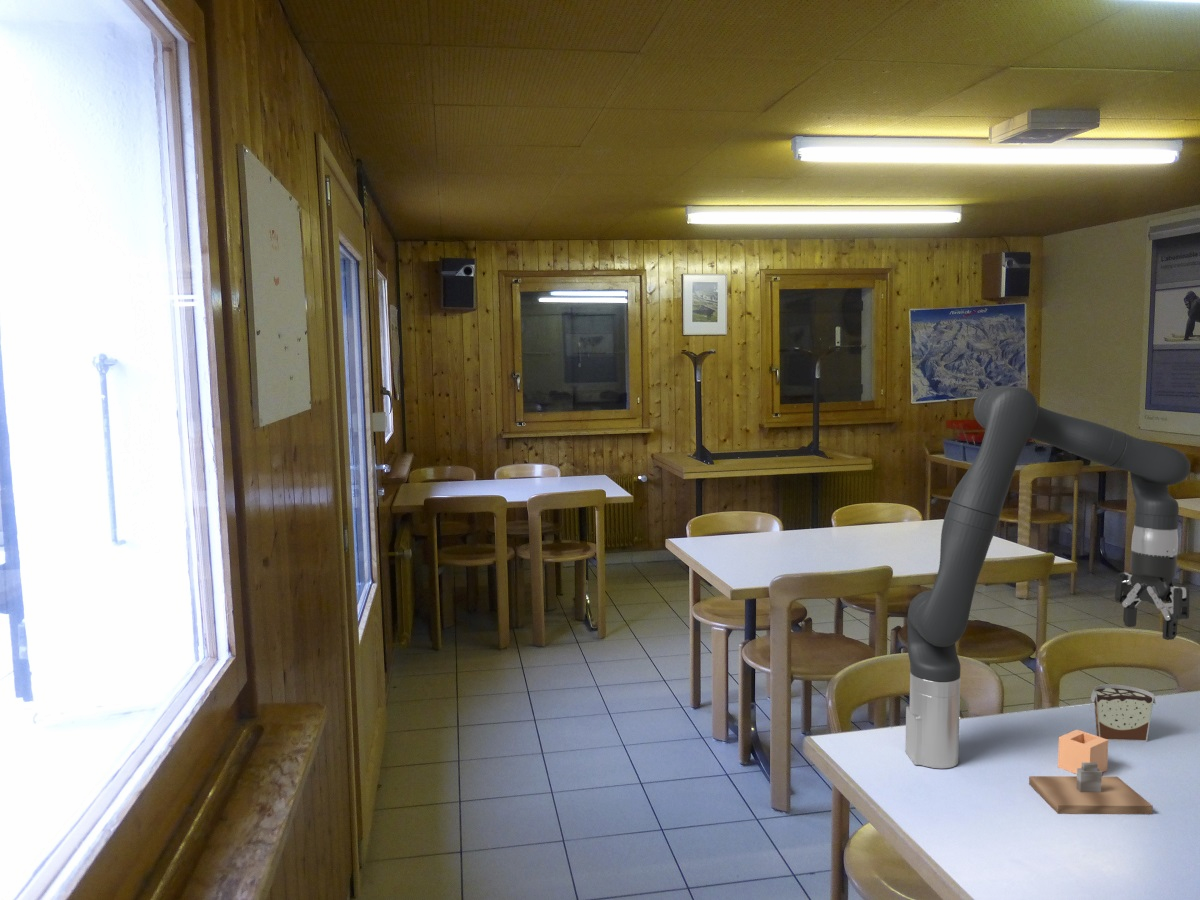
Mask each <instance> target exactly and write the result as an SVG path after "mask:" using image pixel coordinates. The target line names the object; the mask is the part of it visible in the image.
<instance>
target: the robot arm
mask: <svg viewBox="0 0 1200 900" xmlns="http://www.w3.org/2000/svg"><path fill="white" fill-rule="evenodd" d="M972 409H973V410H972V412H973V416H974V418H975V419H974V420H976V422H977V423H978V424H979V425H980V426H981V427H982V428H983V429H984V435H983V438H982V441H981V444H980V447H979V450H978V453H977V455H976V457H975V458H974V461H973V462H972V464H971V465H970V467H969V468H968V469H967V471H966V472H965V474H964V475H963V476H962V478H961V480H959V482H958V484H957V485H956V487H955V488H954V491H953V492H952V495H951V498H950V500H949V502H948V506H947V509H946V513H945V515H944V518H943V522H942V527H941V533H940V534H941V536H940V548H939V549H940V550H939V551H940V555H939V557H940V558H939V567H938V570H937V575H936V577H935V578H936V579H935V581H934V583H933V586H932V589H931V590H930V589H929V590H924V591H921V592H920V593H918V594H917V595H915V596H914V597H913V598H912V600H911V601H910V603H909V606H908V611H907V622H906V623H907V627H906V628H907V653H908V654H907V656H908V659H909V667H910V669H909V671H910V672H909V674H910V675H909V677H910V678H909V706H908V705H907V706H906V707H905V708H906V709H905V747H904V748H905V754H906V755H907V756H908V757H909V759H910V760H911V762H912V763H913V764H914V765H915V766H924V767H927V768H932V769H950V768H954V767H956V766H957V765H958V763H959V755H960V751H959V746H960V744H959V743H960V712H961V711H960V707H961V699H960V698H961V662H960V659H959V657H958V656H959V655H958V652H957V647H956V643H957V642H958V641H959V640H961V638H962V637H963V635H964V633H965V631H966V629H967V626H968V622H969V617H970V612H971V609H972V602H973V599H974V594H975V590H976V586H977V582H978V580H979V576H980V574H981V571H982V568H983V566H984V563H985V560H986V557H987V554H988V552H989V549H990V545H991V542H992V540H993V537H994V535H995V532H996V530H997V526H998V523H999V520H1000V517H1001V514H1002V510H1003V507H1004V505H1005V504H1004V503H1005V500H1006V498H1007V495H1008V493H1009V489H1010V486H1011V483H1012V479H1013V477H1014V474H1015V470H1016V468H1017V465H1018V462H1019V459H1020V457H1021V455H1022V452H1023V451H1024V448H1025V446H1026V444H1027V443H1028V439H1031V440H1035V441H1038V442H1041V443H1043V444H1044V443H1045V444H1046V445H1049V446H1053V447H1056V448H1057V449H1059V450H1063V451H1065V452H1068V453H1069V454H1073V455H1076V456H1078V457H1080V458H1083V459H1085V460H1088V461H1091V462H1094V463H1096V464H1100V465H1103V466H1105V467H1108V468H1111V469H1115V470H1121V471H1125V472H1126V471H1127V472H1129V474H1130V481H1131V486H1132V492H1133V497H1134V501H1135V509H1134V511H1135V513H1134V524H1133V525H1134V527H1133V531H1132V535H1131V536H1132V537H1131V548H1130V563H1129V564H1130V565H1129V567H1130V568H1129V569H1130V570H1129V571H1130V572H1129V571H1127V572H1126V571H1125V572H1118V573H1117V577H1116V584H1115V594H1114V600H1115V602H1117V603H1120V604H1121V605H1122V607H1123V616H1122V617H1123V618H1122V621H1123V624H1124V626H1125V627H1128V628H1131V627H1132V628H1134V627H1136V625H1137V618H1138V608H1137V606H1138V605H1139V604H1140V603H1141V602H1148V603H1150V604H1152V605H1155V606H1156V608H1157V609H1158V610H1159V611H1160V612H1161V614H1162V615H1163V618H1164V619H1163V624H1162V626H1163V627H1162V639H1164V640H1166V641H1169V640H1170V641H1171V640H1174V639H1175V638H1176V637H1177V636H1178V623H1179V621H1180V620H1188V619H1189V618H1190V589H1189V587H1185V586H1184V587H1183V586H1181V587H1179V586H1175V585H1174V578H1175V577H1176V575H1177V566H1178V565H1177V564H1178V551H1179V534H1178V525H1179V513H1180V512H1179V502H1178V501H1177V500H1176V499H1175V498H1173V496H1172V495H1170V493H1169V486H1173V485H1177V484H1180V483H1182V482H1183V481H1184V480H1186V478H1187V477H1188V476H1189V475H1190V472H1191V462H1190V461H1189V459H1188V457H1187V456H1186V455H1185V454H1184V453H1183V452H1182V451H1180V450H1178V449H1176V448H1174V447H1170V446H1169V445H1164V444H1162V443H1158V442H1154V441H1150V440H1146V439H1141V438H1138V437H1135V436H1133V435H1130V434H1128V433H1125V432H1123V431H1120V430H1118V429H1115V428H1111V427H1109V426H1106V425H1103V424H1100V423H1097V422H1094V421H1089V420H1085V419H1081V418H1079V417H1074V416H1069V415H1066V414H1061V413H1058V412H1057V411H1056V412H1055V411H1052V410H1049V409H1047V408H1044V407H1042V406H1039V405H1038V401H1037V398H1036V396H1035V395H1034V394H1033V393H1032V392H1031V391H1030V390H1028V389H1026V388H1025V387H1020V386H1011V385H1010V386H1009V385H997V386H992V387H989V388H987V389H985V390H982V392H980V393H979V394H978V395H977V397H976V399H975V401H974V403H973V408H972ZM1165 602H1166V603H1165Z"/></svg>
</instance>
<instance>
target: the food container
mask: <svg viewBox="0 0 1200 900" xmlns="http://www.w3.org/2000/svg"><path fill="white" fill-rule="evenodd" d="M1090 701H1091V702H1092V703H1094V716H1095V717H1094V718H1095V730H1096V736H1098V737H1101V738H1104V739H1107V740H1108V742H1109V741H1110V742H1111V741H1115V742H1117V741H1118V742H1122V741H1123V742H1146V743H1147V742H1148V739H1149V737H1148V736H1149V732H1150V724H1151V719H1152V713H1153V706H1154V705H1157V700H1156V697H1155V694H1154V693H1153V692H1150V691H1148V690H1145V689H1142V688H1139V687H1136V686H1130V685H1124V684H1123V685H1122V684H1113V683H1112V684H1107V683H1106V684H1101V685H1097V686H1095V687H1094V688H1093V690H1092V692H1091V696H1090Z"/></svg>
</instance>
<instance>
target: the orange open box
mask: <svg viewBox="0 0 1200 900" xmlns="http://www.w3.org/2000/svg"><path fill="white" fill-rule="evenodd" d="M1057 750H1058V751H1057V752H1058V755H1057V756H1058V757H1057V768H1059V769H1062V770H1064V771H1067V772H1070V773H1073V774H1074V775H1075V774H1076V775H1077V768H1082V763H1096V764H1098V769H1099V770H1100V771H1101V772H1102V773H1104V772H1107V771H1108V756H1109V755H1108V754H1109V741H1108V740H1107V739H1104V738H1101V737H1098V736H1097V735H1095V734H1092V733H1088V732H1086V731H1083V730H1079V729H1075V730H1072V731H1070V732H1067V733H1065V734H1063V735H1061V736H1059V737H1058V749H1057Z"/></svg>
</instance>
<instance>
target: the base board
mask: <svg viewBox="0 0 1200 900" xmlns="http://www.w3.org/2000/svg"><path fill="white" fill-rule="evenodd" d="M1028 784H1029V786H1030V787H1031V788H1032V789H1034V791H1035V792H1036V793H1037V794H1038V795H1039V796H1040V797H1041V798H1042V799H1043V800H1044V802H1046V803H1047V804H1048V805H1049V806H1050V808H1052V810H1054V812H1056V814H1058V815H1059V814H1061V815H1062V814H1063V815H1065V814H1066V815H1067V814H1069V815H1072V814H1073V815H1074V814H1075V815H1078V814H1079V815H1082V814H1083V815H1102V814H1103V815H1153V808H1154V807H1153V805H1152V804H1151V803H1150V802H1149V801H1148V800H1146V799H1145V798H1144V797H1143V796H1142V795H1140V794H1139V793H1138V792H1137V791H1136V790H1134V789H1133V788H1132V787H1130V786H1129V785H1128V784H1127V783H1126V782H1124V781H1123V780H1122V779H1121V778H1120V777H1118V776H1103V772H1101V771H1100V770H1099V769H1098V764H1096V763H1082V768H1077V774H1076V776H1072V775H1071V776H1070V775H1069V776H1068V775H1067V776H1065V775H1064V776H1062V775H1061V776H1060V775H1058V776H1052V775H1050V776H1049V775H1047V776H1046V775H1045V776H1043V775H1042V776H1041V775H1037V776H1035V775H1033V776H1032V775H1029V778H1028Z"/></svg>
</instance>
